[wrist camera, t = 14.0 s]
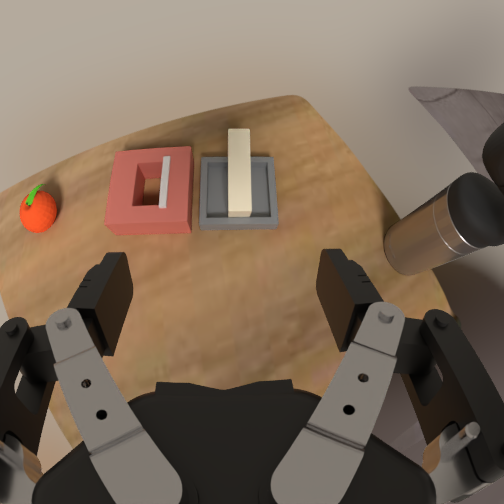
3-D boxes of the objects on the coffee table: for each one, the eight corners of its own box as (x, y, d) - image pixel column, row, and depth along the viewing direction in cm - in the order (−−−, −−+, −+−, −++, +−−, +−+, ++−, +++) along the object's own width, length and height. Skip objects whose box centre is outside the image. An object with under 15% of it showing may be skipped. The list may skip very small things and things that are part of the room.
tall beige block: (248, 218, 45) (247, 144, 45) (251, 211, 39) (249, 128, 40) (228, 219, 44) (227, 144, 45) (228, 211, 39) (228, 128, 40)
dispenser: (194, 163, 47) (190, 144, 42) (191, 233, 44) (186, 219, 39) (124, 167, 46) (114, 149, 41) (115, 235, 43) (102, 222, 38)
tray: (271, 164, 48) (273, 157, 46) (276, 229, 45) (278, 223, 43) (202, 165, 47) (201, 157, 45) (200, 230, 44) (199, 224, 42)
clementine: (44, 192, 44) (25, 174, 37) (71, 198, 44) (52, 179, 37) (28, 233, 42) (6, 219, 35) (55, 242, 42) (32, 228, 35)
